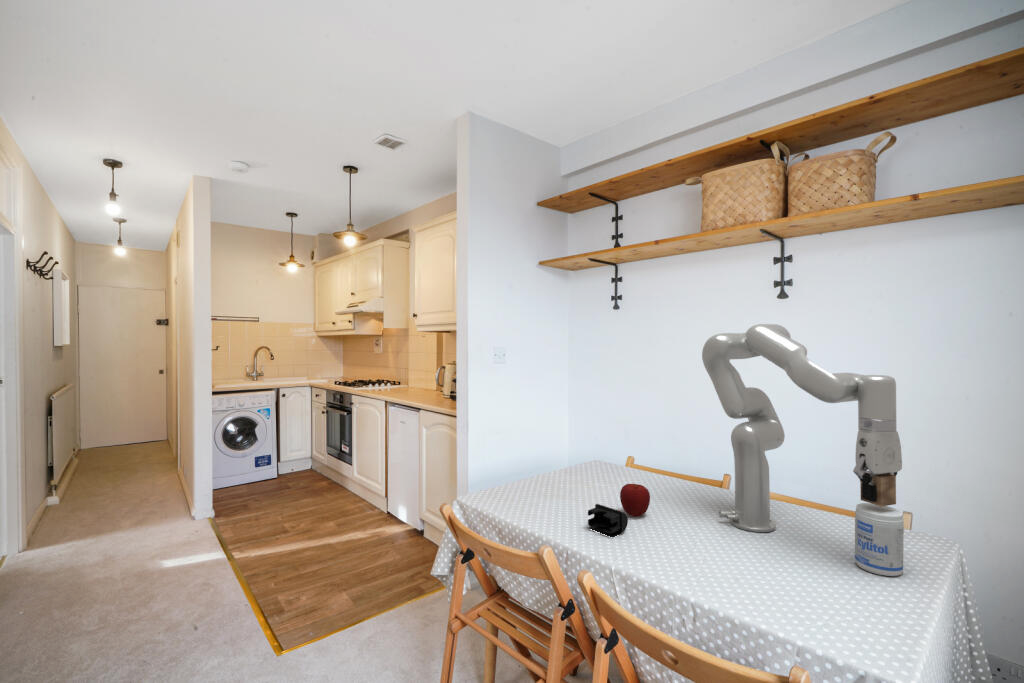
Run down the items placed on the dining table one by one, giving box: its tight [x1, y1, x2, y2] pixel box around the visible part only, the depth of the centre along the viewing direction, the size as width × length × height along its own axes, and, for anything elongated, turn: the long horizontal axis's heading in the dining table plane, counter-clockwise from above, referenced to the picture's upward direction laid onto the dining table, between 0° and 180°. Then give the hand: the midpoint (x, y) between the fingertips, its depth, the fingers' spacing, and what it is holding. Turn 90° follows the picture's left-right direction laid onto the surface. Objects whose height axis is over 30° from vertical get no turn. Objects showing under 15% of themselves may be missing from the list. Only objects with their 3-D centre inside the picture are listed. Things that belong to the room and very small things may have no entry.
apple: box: [619, 483, 651, 518], centre depth 156 cm, size 10×10×10 cm
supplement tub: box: [854, 502, 905, 577], centre depth 118 cm, size 10×10×15 cm
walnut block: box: [859, 471, 897, 507], centre depth 118 cm, size 5×5×7 cm
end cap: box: [587, 503, 629, 538], centre depth 144 cm, size 10×7×7 cm
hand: (877, 498), depth 118 cm, fingers closed on walnut block, 5 cm apart
